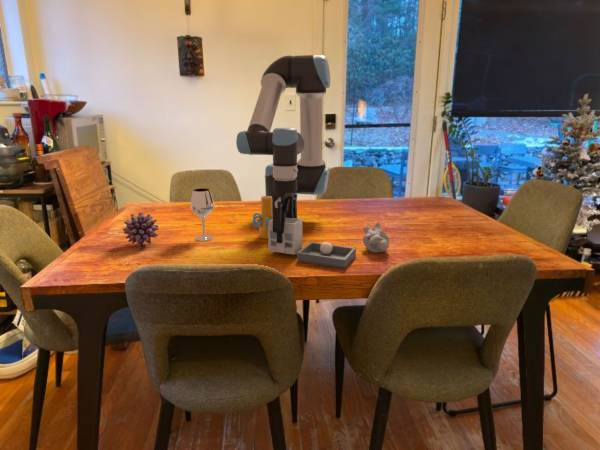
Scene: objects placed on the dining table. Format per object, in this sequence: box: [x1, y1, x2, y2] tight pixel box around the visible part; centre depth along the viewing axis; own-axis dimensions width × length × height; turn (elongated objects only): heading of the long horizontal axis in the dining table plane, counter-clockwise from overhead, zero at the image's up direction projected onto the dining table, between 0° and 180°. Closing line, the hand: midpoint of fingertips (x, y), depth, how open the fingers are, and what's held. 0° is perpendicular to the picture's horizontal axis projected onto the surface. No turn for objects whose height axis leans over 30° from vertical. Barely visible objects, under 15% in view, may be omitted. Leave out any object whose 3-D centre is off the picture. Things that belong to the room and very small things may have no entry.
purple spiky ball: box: [122, 211, 160, 247], centre depth 147 cm, size 12×12×12 cm
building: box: [267, 218, 303, 256], centre depth 139 cm, size 9×6×10 cm
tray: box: [296, 241, 357, 270], centre depth 136 cm, size 16×12×3 cm
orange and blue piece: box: [251, 195, 273, 240], centre depth 157 cm, size 12×10×15 cm
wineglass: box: [190, 187, 215, 242], centre depth 154 cm, size 8×8×18 cm
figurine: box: [362, 221, 390, 254], centre depth 143 cm, size 8×10×12 cm
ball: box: [320, 241, 333, 254], centre depth 139 cm, size 4×4×4 cm
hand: (285, 248), depth 140 cm, fingers closed on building, 6 cm apart
